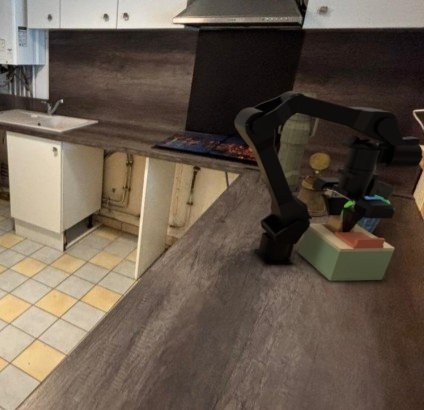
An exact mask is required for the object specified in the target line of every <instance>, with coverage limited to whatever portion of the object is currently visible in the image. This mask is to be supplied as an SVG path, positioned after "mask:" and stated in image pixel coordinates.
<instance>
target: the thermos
mask: <svg viewBox="0 0 424 410" xmlns="http://www.w3.org/2000/svg"><path fill="white" fill-rule="evenodd" d="M296 92H297V93H302V94H304V95H305V96H308V97H312V98H316V99H317V94H316V92H315V91H311V90H310V91H309V90H299V91H296ZM312 118H313V117H311V116H308V115H304V114H300V113H296V114H295V115H293V116H291V117H290V118H289V119H288V120H287V121H286V122H285V123H284V124H282V125H280V126H279V127H278V130H277V134H280V146H279V150H278V154H277V155H278V158H279V161H280V163H281V166H282V169H283V171H284V174H285V177H286V179H287V182H288V185H289V188H290V190H291V193H292V192H296V190H297V186H298V183H299V180H300V176H301V174H300V169H301V166H302V162H303V159H304V158H303V157H304V155H305V151H306V146H307V145H309V141H310V139H312V138H313V137H315V136H316V132H317V129H318V126H319V125H318V124H319V122H320V119H319V118H315V121H314V125H313V128H312V121H313V119H312Z"/></svg>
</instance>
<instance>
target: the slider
mask: <svg viewBox="0 0 424 410" xmlns="http://www.w3.org/2000/svg"><path fill="white" fill-rule="evenodd" d="M334 235H335V236H337V237H338V238H340V239H341V240H342V241H344V242H345V243H347V244H348V245H350V246H351V247H352V248H383V247H384V246H383V244H384V242H386V239H385V238H384V237H378V238H371V237H369V236H367V235H366V234H364V233H363V232H335V233H334Z"/></svg>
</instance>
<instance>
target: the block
mask: <svg viewBox="0 0 424 410" xmlns="http://www.w3.org/2000/svg"><path fill="white" fill-rule="evenodd" d="M342 222H343V215H330V217H329V216H328V221H327V227H326V228H327V229H328V230H329V231H331V232H332V233H335V232H342ZM354 228H355V226H354V227H353V228H352V229H351V230H350V232H353V231H354Z"/></svg>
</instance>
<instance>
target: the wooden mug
mask: <svg viewBox="0 0 424 410" xmlns="http://www.w3.org/2000/svg"><path fill="white" fill-rule="evenodd" d="M331 164H332V159H331V156H330V155H329V153H327V152H326V151H324V150H320V151H317V152H315V153H313V154H311V156H310V157H309V159H308V166H309V167H310V169H311V170H312V171H311V175H306V177H305V178H304V179H303V181H302V183H301V189H300V191H299V193H298V195H297V198H299V199H300V200H301V201H303V202H304V203H305V204H306V205H307V207H308V213H309V215H310V216H311V217H321V216H322V217H323V216H324V215H325V214H326V213H325V212H326V206H325V203H324V200H323V197H322V196H321V194H325V191H326V189H325V188H324V190H322V191H317V190H315V189H313V188H312V186H313V183H314V181H315V180H316V179H317V178H324V177H323V176H322V173H323V171H326V170H327V169H329V168H330V166H331Z"/></svg>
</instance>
